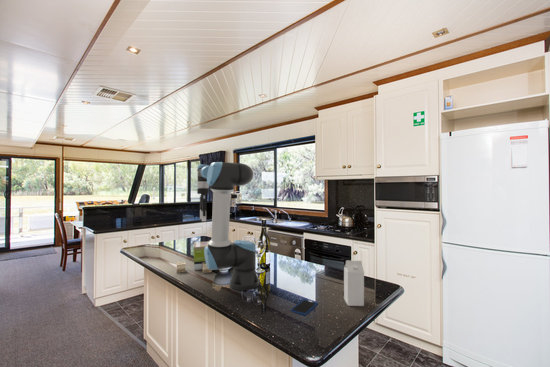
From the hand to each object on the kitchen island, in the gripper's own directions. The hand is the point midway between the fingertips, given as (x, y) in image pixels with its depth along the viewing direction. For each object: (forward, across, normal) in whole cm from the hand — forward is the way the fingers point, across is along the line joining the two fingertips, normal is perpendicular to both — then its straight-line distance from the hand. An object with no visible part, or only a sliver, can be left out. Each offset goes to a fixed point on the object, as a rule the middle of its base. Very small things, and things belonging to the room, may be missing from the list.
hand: (202, 220), depth 170 cm
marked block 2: (+30, -12, -2) cm, 33 cm away
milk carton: (+31, -80, -59) cm, 104 cm away
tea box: (+30, 0, 0) cm, 30 cm away
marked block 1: (+30, -6, +14) cm, 34 cm away
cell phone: (+31, -76, -36) cm, 90 cm away
